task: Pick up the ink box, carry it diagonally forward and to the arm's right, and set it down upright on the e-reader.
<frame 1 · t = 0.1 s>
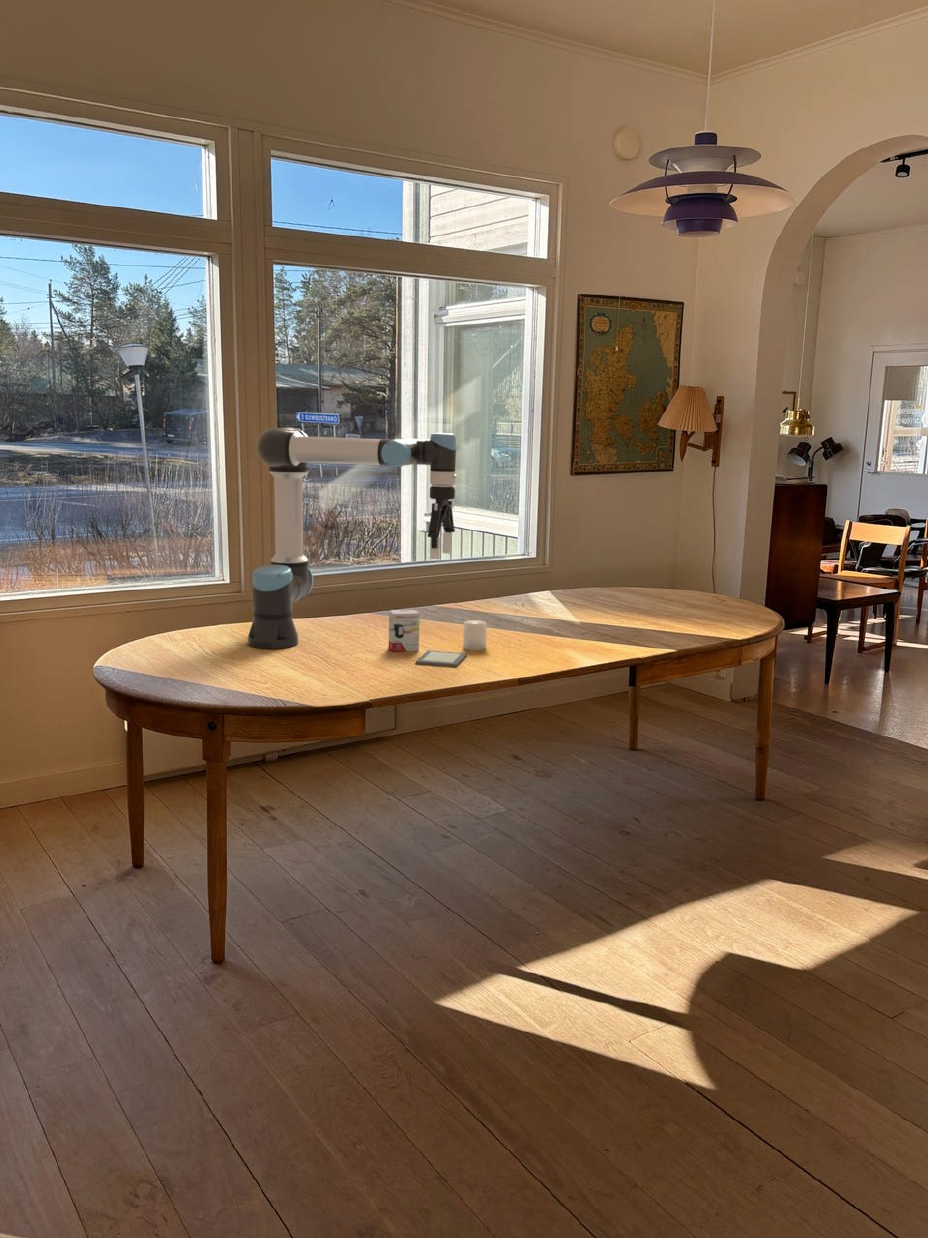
hand: (441, 556, 305), 28 cm above the table, fingers open, 13 cm apart
ink box: (403, 650, 305), on the table
e-reader: (441, 659, 294), on the table
white ceramic tumbler: (474, 648, 310), on the table
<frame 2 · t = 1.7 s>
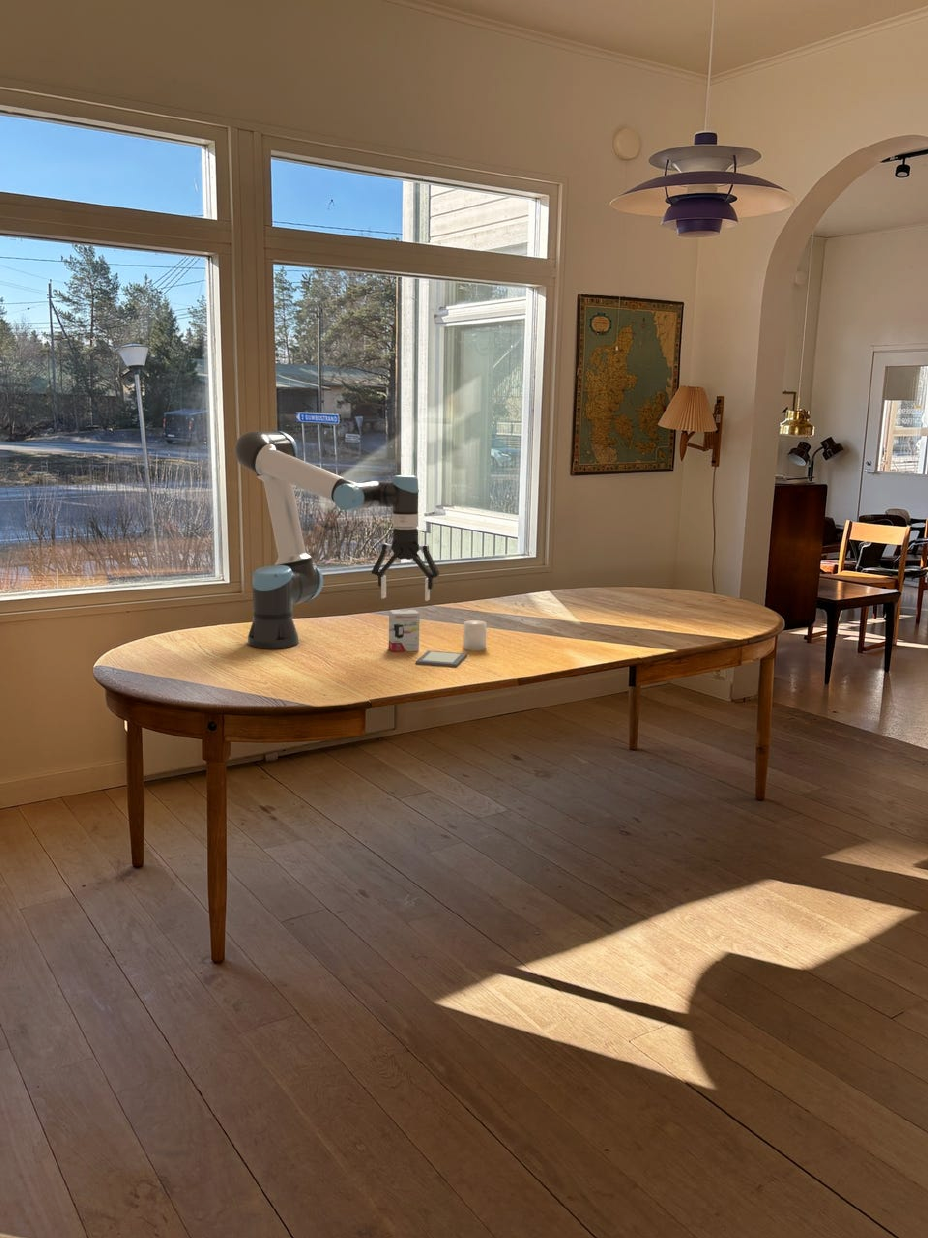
hand: (405, 599, 302), 16 cm above the table, fingers open, 13 cm apart
nothing on the table moved.
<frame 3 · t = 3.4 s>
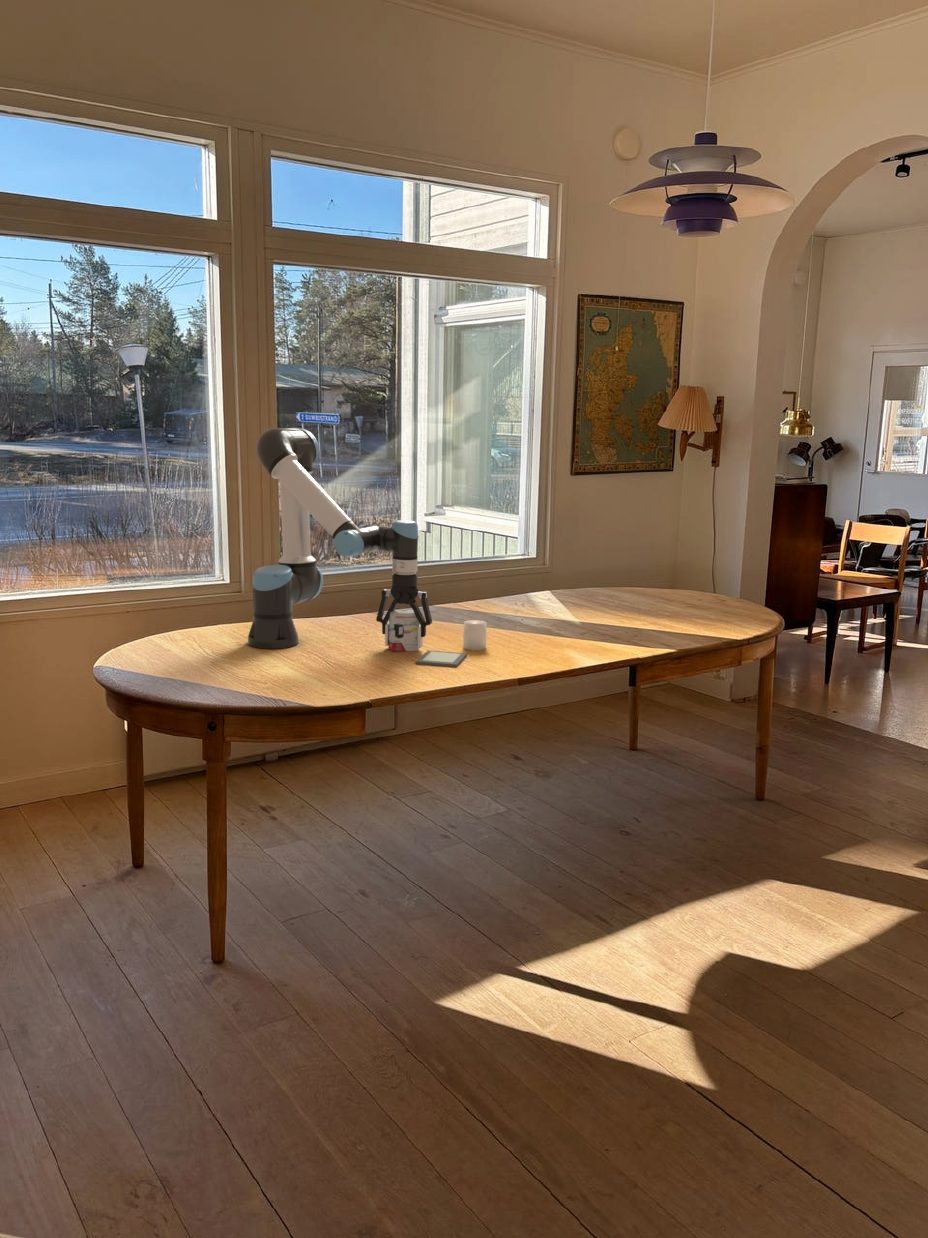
hand: (403, 646, 305), 1 cm above the table, fingers closed on ink box, 9 cm apart
ink box: (403, 650, 305), on the table, touching gripper
everything else where it was.
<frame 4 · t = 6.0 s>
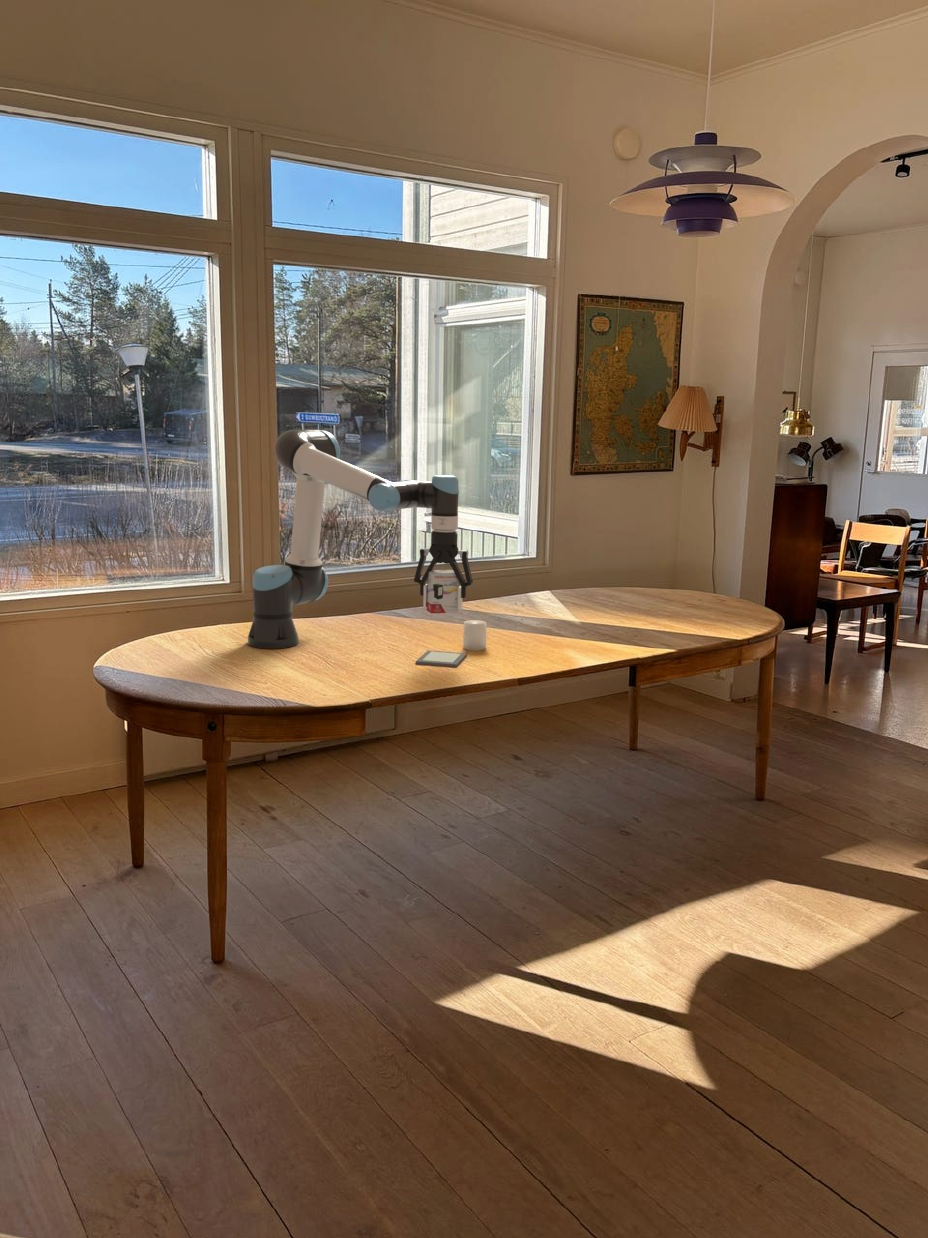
hand: (442, 607, 290), 15 cm above the table, fingers closed on ink box, 9 cm apart
ink box: (442, 612, 291), point 14 cm above the table, touching gripper
everything else where it was.
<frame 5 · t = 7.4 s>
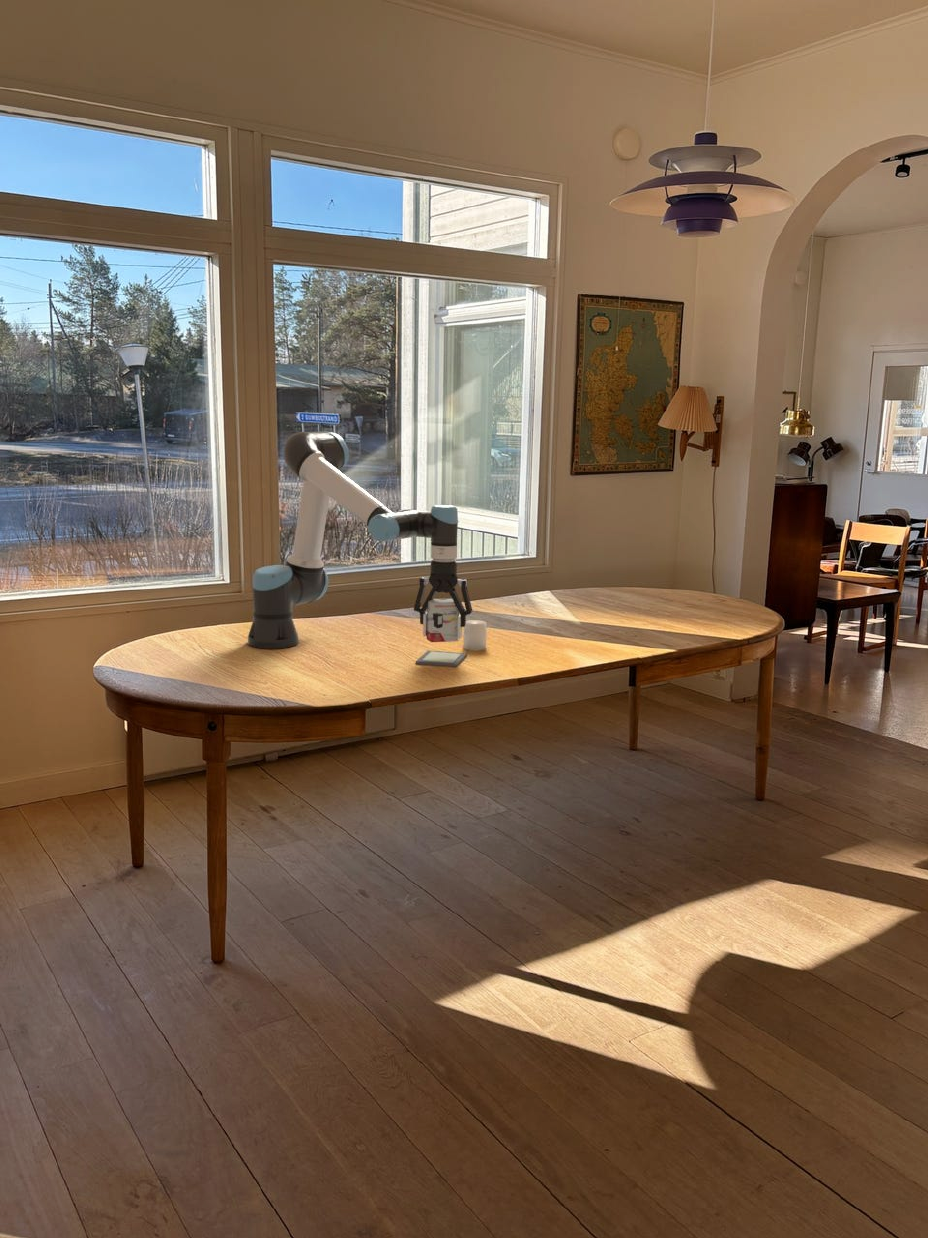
hand: (442, 636, 292), 7 cm above the table, fingers closed on ink box, 9 cm apart
ink box: (442, 640, 292), point 6 cm above the table, touching gripper
everything else where it was.
when the fingers open (4 cm above the table, at t = 8.6 s): ink box drops 1 cm, resting on e-reader.
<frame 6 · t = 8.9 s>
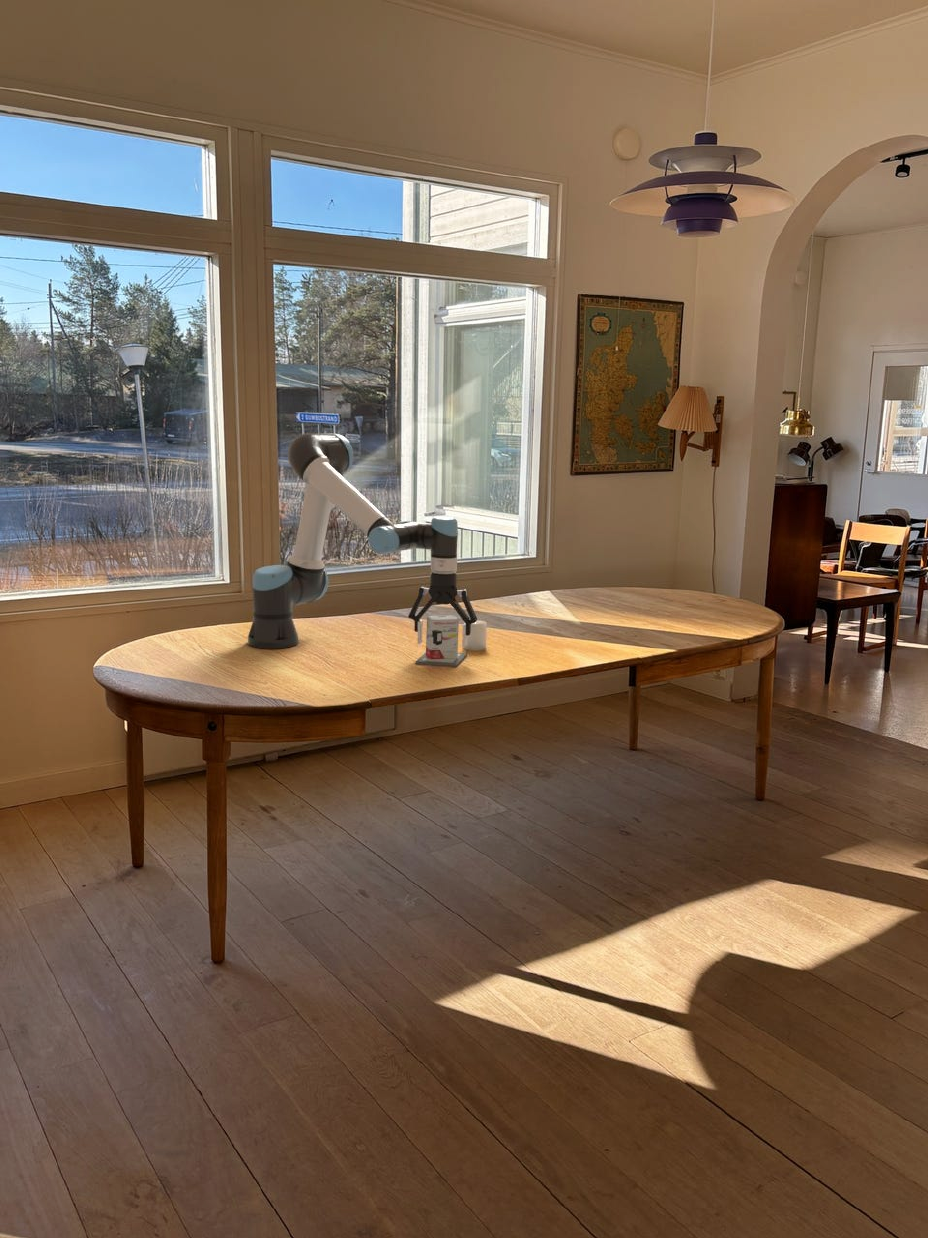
hand: (442, 644, 293), 5 cm above the table, fingers open, 13 cm apart
ink box: (441, 657, 293), point 1 cm above the table, touching e-reader
everything else where it was.
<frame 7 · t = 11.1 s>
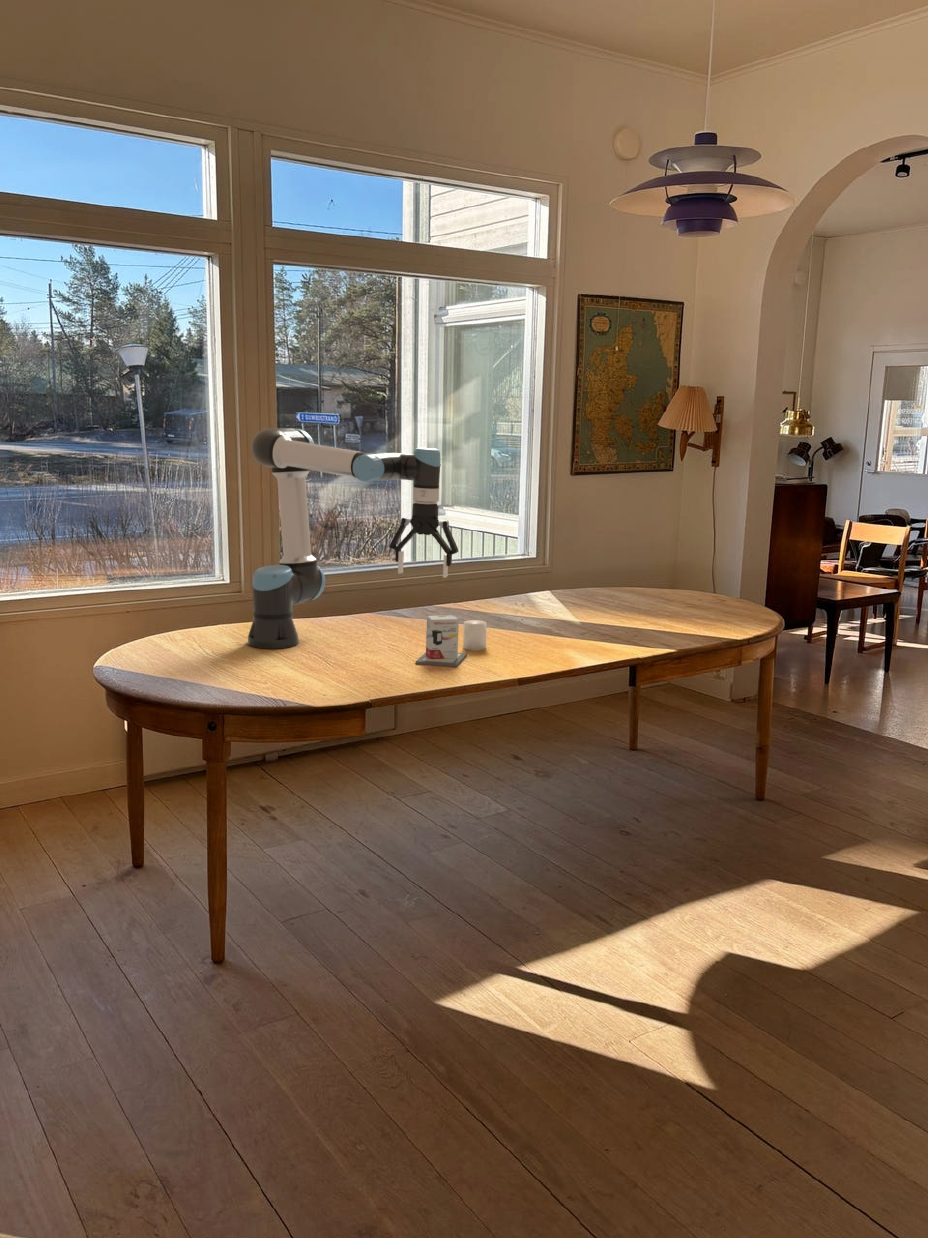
hand: (422, 575, 296), 24 cm above the table, fingers open, 13 cm apart
nothing on the table moved.
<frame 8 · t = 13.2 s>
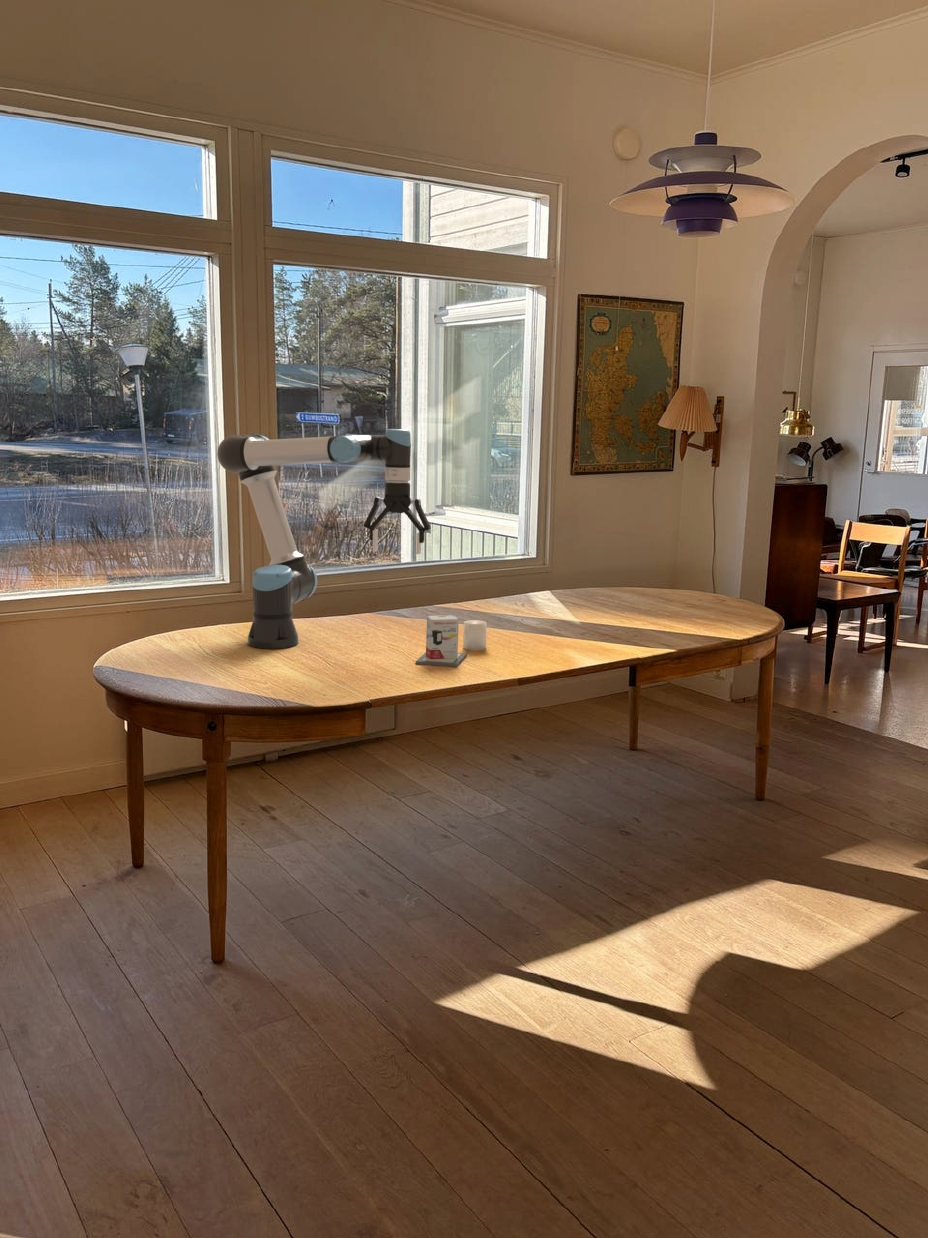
hand: (396, 552, 305), 29 cm above the table, fingers open, 13 cm apart
nothing on the table moved.
at the end: ink box inside the target area on the e-reader (0.0 cm from its centre), point 0.7 cm above the e-reader's base; ink box tilted 0°; the gripper is holding nothing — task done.
